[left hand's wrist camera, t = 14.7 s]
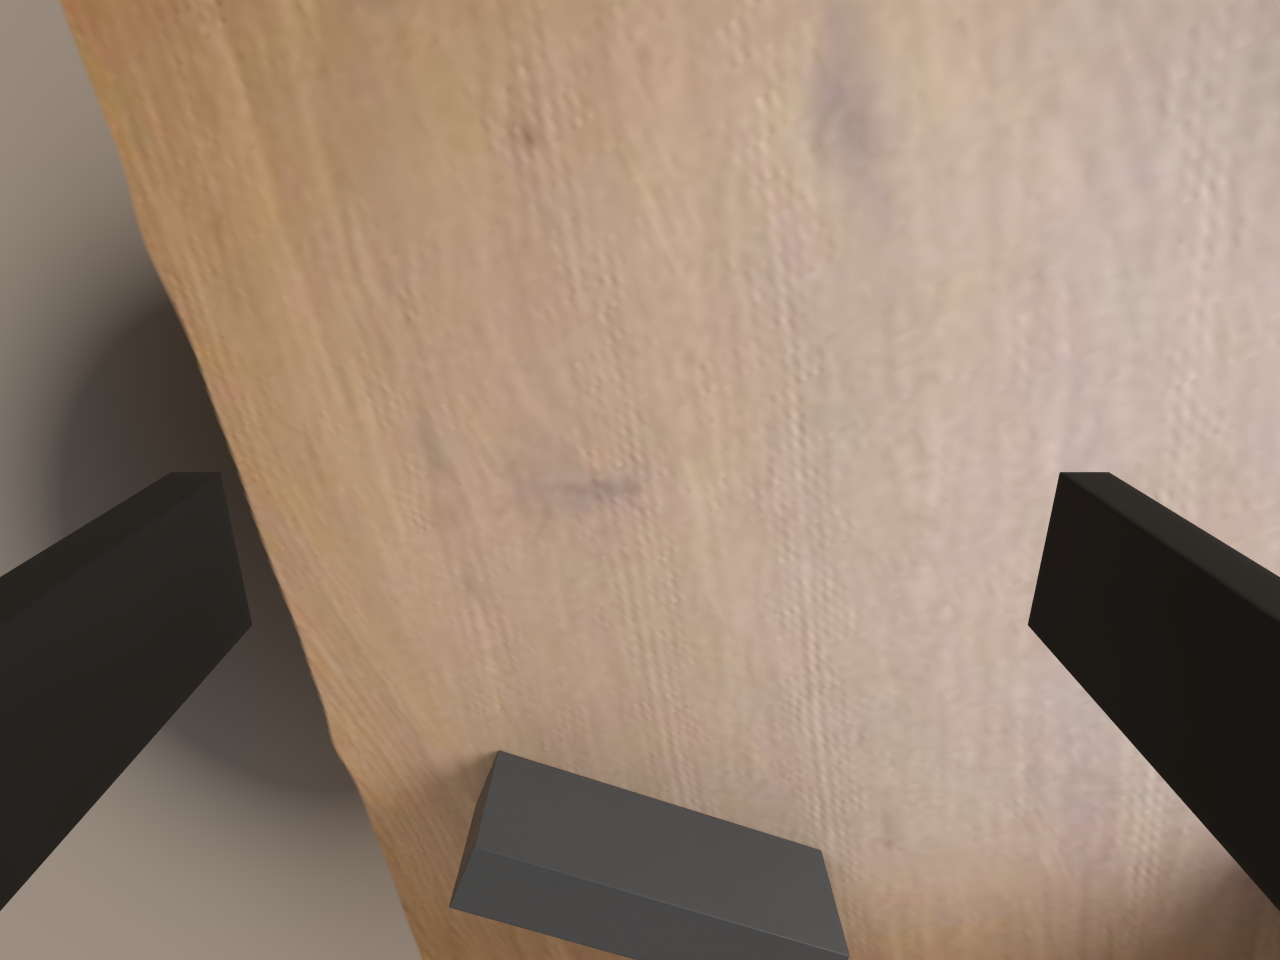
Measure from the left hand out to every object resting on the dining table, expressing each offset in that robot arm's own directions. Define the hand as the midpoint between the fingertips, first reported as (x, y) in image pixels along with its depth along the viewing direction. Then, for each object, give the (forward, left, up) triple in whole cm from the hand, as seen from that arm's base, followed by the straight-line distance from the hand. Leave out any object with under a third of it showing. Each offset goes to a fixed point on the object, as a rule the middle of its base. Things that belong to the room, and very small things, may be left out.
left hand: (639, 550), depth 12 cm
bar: (+37, +1, -30) cm, 48 cm away
